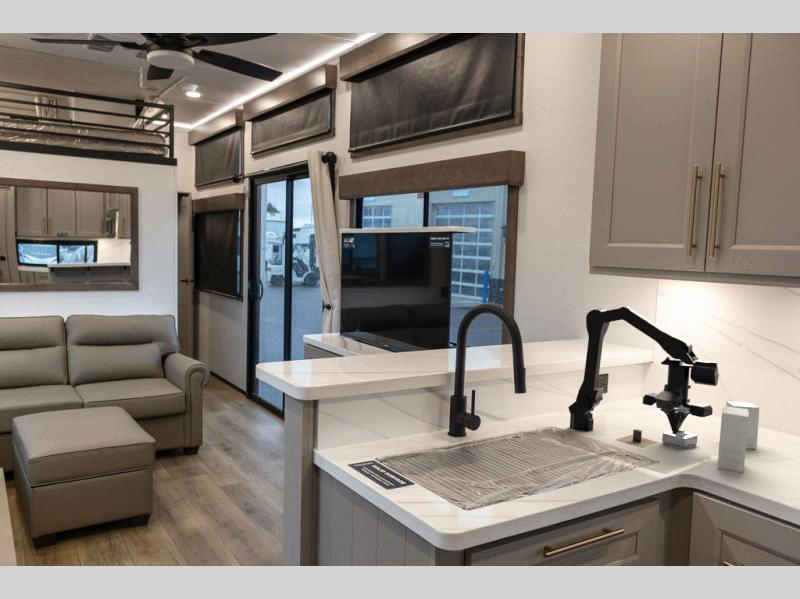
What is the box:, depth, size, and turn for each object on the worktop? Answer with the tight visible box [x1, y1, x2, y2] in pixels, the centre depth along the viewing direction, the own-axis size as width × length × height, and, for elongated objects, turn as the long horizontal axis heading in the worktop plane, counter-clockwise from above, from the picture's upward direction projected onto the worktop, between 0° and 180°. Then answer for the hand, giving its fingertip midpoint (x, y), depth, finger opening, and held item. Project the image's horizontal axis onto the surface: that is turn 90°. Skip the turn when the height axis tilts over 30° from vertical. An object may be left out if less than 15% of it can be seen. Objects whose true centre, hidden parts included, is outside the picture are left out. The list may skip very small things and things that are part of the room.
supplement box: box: [725, 400, 760, 450], centre depth 192 cm, size 7×7×13 cm
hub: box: [662, 427, 697, 450], centre depth 188 cm, size 9×9×6 cm
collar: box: [661, 429, 698, 448], centre depth 188 cm, size 7×7×3 cm
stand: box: [615, 429, 660, 448], centre depth 190 cm, size 9×9×4 cm
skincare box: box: [717, 405, 749, 473], centre depth 172 cm, size 8×7×16 cm
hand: (674, 433), depth 186 cm, fingers closed
